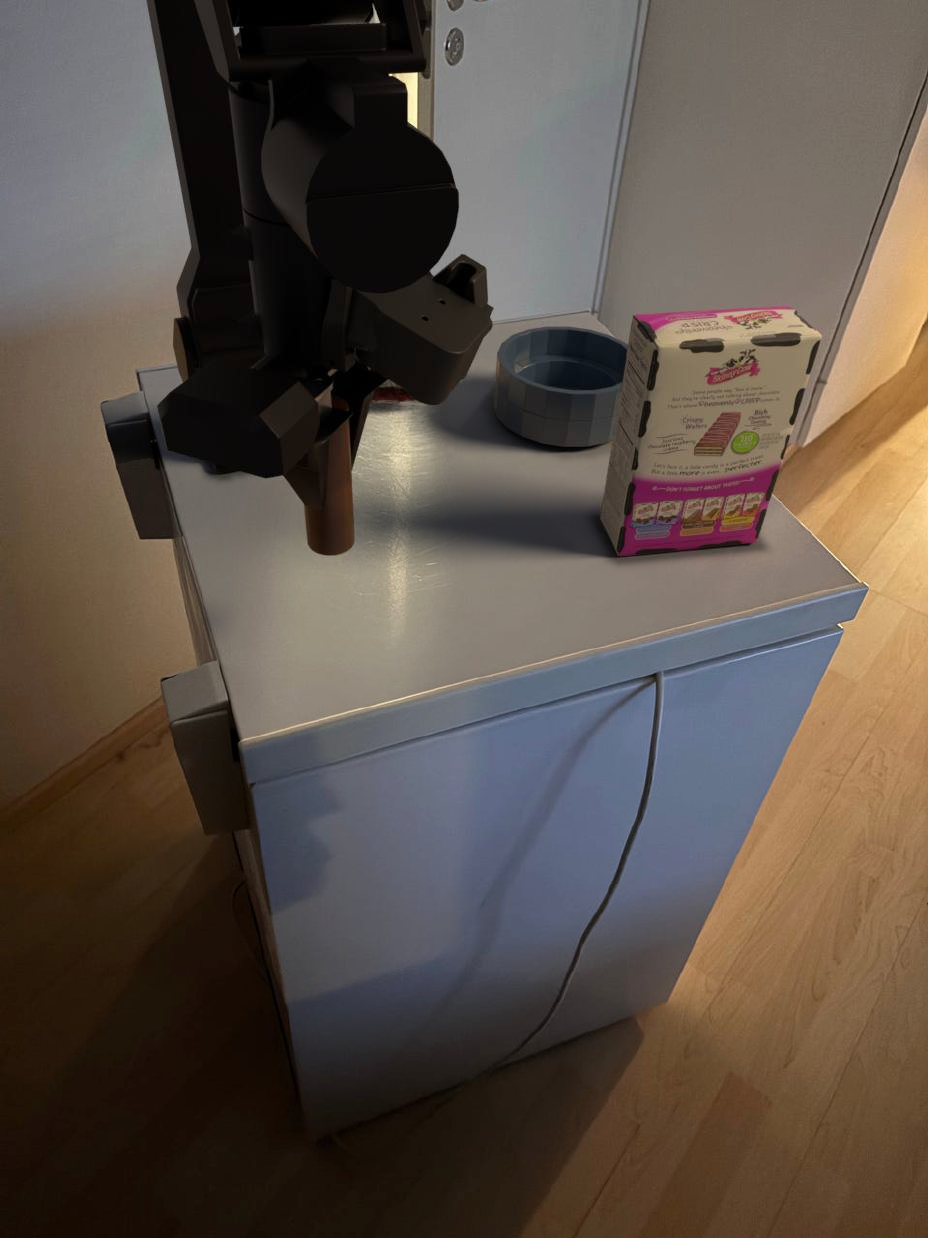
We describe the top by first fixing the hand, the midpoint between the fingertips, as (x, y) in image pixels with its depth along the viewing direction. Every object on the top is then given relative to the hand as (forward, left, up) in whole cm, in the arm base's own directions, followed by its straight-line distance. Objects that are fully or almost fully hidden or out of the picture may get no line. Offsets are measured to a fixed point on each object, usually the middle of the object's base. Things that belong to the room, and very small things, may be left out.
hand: (327, 492), depth 51 cm
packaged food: (+12, +29, -11) cm, 33 cm away
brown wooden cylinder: (0, 0, -4) cm, 4 cm away
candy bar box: (+27, +1, -11) cm, 29 cm away
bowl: (+27, +19, -11) cm, 34 cm away
